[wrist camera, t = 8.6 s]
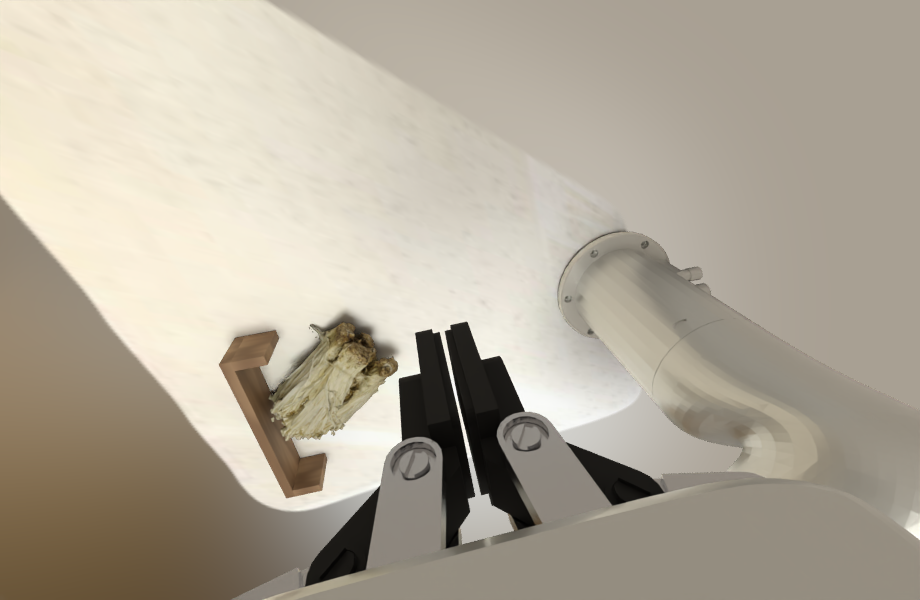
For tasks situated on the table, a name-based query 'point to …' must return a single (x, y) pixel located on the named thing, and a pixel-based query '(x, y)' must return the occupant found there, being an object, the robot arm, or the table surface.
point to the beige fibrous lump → (330, 384)
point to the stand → (268, 415)
